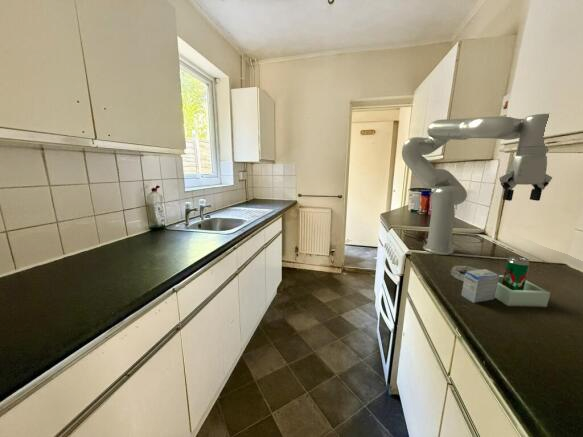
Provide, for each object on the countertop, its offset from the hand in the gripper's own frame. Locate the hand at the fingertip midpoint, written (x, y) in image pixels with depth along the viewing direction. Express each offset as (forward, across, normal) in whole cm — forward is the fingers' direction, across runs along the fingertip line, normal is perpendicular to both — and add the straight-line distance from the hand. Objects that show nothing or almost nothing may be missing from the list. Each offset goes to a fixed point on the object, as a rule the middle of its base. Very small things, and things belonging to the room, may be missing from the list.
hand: (520, 200), depth 85 cm
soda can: (+28, +14, +19) cm, 36 cm away
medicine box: (+29, +25, +20) cm, 43 cm away
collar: (+28, +18, +6) cm, 34 cm away
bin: (+28, +14, +19) cm, 37 cm away
